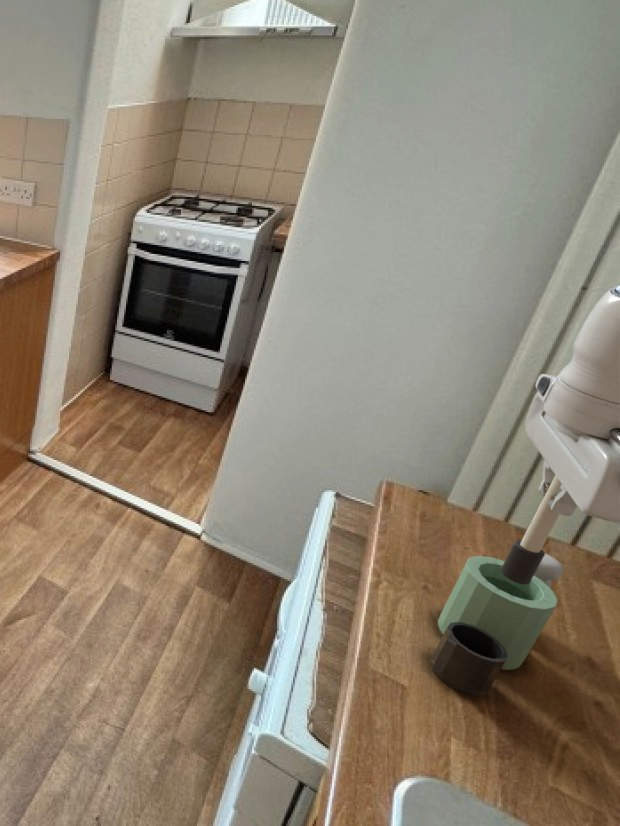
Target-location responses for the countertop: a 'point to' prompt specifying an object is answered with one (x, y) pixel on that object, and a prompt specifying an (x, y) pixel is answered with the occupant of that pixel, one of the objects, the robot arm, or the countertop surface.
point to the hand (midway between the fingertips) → (553, 503)
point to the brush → (532, 541)
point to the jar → (499, 607)
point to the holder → (468, 659)
